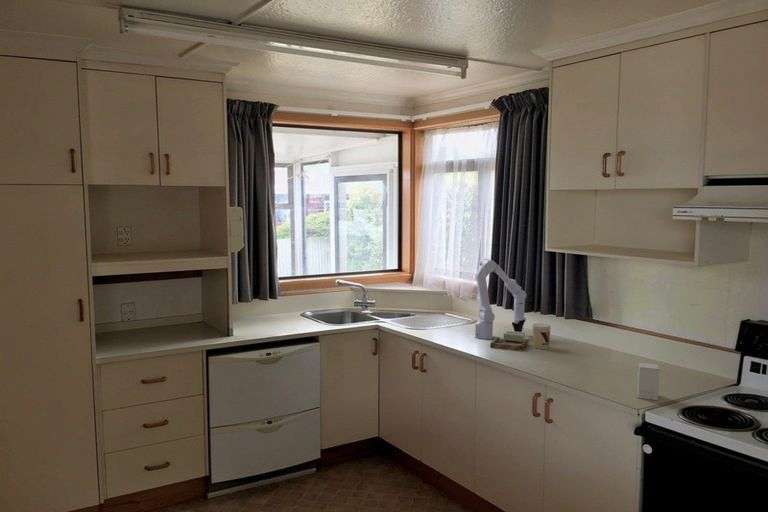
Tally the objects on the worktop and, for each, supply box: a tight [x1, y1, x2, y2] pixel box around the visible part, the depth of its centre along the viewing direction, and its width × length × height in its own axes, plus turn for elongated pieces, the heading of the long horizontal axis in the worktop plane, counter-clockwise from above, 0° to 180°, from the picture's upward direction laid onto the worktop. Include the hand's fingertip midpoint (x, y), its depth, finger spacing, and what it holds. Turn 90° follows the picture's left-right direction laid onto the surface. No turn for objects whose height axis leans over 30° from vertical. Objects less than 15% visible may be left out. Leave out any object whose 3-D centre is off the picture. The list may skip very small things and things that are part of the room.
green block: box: [503, 330, 526, 343], centre depth 335 cm, size 10×8×4 cm
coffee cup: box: [532, 323, 552, 350], centre depth 320 cm, size 9×9×12 cm
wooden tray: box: [489, 336, 528, 351], centre depth 323 cm, size 16×15×2 cm
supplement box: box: [636, 362, 660, 401], centre depth 241 cm, size 7×7×13 cm
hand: (518, 333), depth 345 cm, fingers open, 7 cm apart
